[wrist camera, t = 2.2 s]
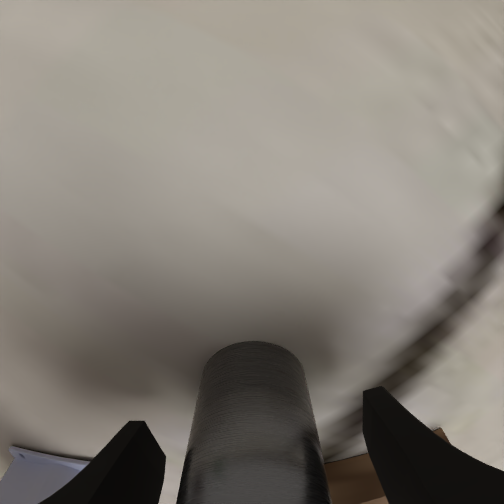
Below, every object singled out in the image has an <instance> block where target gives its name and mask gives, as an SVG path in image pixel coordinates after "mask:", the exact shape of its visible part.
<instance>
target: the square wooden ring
mask: <svg viewBox="0 0 504 504" xmlns="http://www.w3.org/2000/svg"><path fill="white" fill-rule="evenodd" d="M433 432H434V433H435V434H437V435H438V436H440V437H441V438H442V439H444V440H445V441H447V442H448V443H450V442H449V440H448V438H447V437H446V435H445V433H444V432H443V430H442V428H440V429H438V430H435V431H433ZM450 444H451V443H450ZM324 466H325V470H326V475H327V480H328V485H329V490H330V495H331V500H332V504H389V503H388V501H387V498H386V496H385V493H384V491H383V488H382V486H381V483H380V481H379V479H378V476H377V474H376V471H375V469H374V466H373V464H372V461H371V459H370V456H369V453H367V454H364V455H360V456H356V457H353V458H349V459H344V460H340V461H336V462H331V463H327V464H324Z"/></svg>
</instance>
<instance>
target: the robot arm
mask: <svg viewBox="0 0 504 504" xmlns="http://www.w3.org/2000/svg"><path fill="white" fill-rule="evenodd" d="M363 435H364V438H365V442H366V446H367V449H368V453H369V456H370V459H371V461H372V464H373V466H374V469H375V471H376V474H377V476H378V479H379V481H380V483H381V486H382V488H383V491H384V493H385V496H386V498H387V501H388V503H389V504H504V471H502V470H499V469H497V468H494V467H492V466H489V465H487V464H485V463H483V462H481V461H479V460H477V459H475V458H473V457H471V456H469V455H468V454H466V453H464V452H462V451H461V450H459V449H457V448H456V447H454V446H453V445H451V444H450V443H448V442H447V441H445V440H444V439H442V438H441V437H440V436H438V435H437V434H435V433H434V432H433V431H432V430H430V429H429V428H428V427H426V426H425V425H424V424H423V423H422V422H420V421H419V420H418V419H417V418H416V417H414V416H413V415H412V414H411V413H410V412H409V411H408V410H407V409H406V408H404V407H403V406H402V405H401V404H400V403H399V402H398V401H397V400H396V399H395V398H394V397H393V396H392V395H391V394H390V393H389V392H388V391H387V390H386V389H385V388H384V387H382V386H379V387H376V388H372V389H369V390H365V391H363ZM9 452H10V453H11V454H12V456H13V457H14V460H13V461H12V463H11V465H10V466H9V468H8V469H7V471H6V473H5V474H4V476H3V477H2V479H1V481H0V504H158V503H159V499H160V494H161V490H162V486H163V482H164V474H165V462H166V456H165V454H164V452H163V451H162V449H161V448H160V446H159V444H158V443H157V441H156V440H155V438H154V436H153V435H152V433H151V431H150V430H149V428H148V426H147V424H146V423H145V421H129V422H128V423H127V424H126V425H125V426H124V427H123V428H122V429H121V430H120V431H119V432H118V433H117V434H116V435H115V436H114V437H113V438H112V440H111V441H110V442H109V443H108V444H107V445H106V446H105V447H104V448H103V449H102V450H101V451H100V452H99V453H98V455H97V456H96V457H95V458H94V459H93V460H92V461H91V462H90V461H83V460H76V459H70V458H64V457H59V456H53V455H48V454H44V453H39V452H35V451H30V450H26V449H22V448H18V447H15V446H10V447H9Z"/></svg>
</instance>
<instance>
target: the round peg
mask: <svg viewBox="0 0 504 504" xmlns="http://www.w3.org/2000/svg"><path fill="white" fill-rule="evenodd" d="M176 504H332V500H331V495H330V490H329V485H328V480H327V475H326V470H325V466H324V461H323V456H322V451H321V447H320V442H319V437H318V432H317V428H316V423H315V419H314V414H313V409H312V405H311V400H310V396H309V391H308V387H307V383H306V378H305V374H304V370H303V368H302V365H301V364H300V362H299V361H298V359H297V358H296V357H295V356H294V355H293V354H291V353H290V352H289V351H287V350H286V349H284V348H282V347H280V346H277V345H274V344H271V343H266V342H258V341H249V342H241V343H237V344H233V345H230V346H228V347H226V348H224V349H222V350H220V351H219V352H217V353H216V354H215V355H214V356H212V358H211V359H210V360H209V361H208V362H207V364H206V366H205V368H204V370H203V375H202V379H201V384H200V388H199V393H198V398H197V403H196V407H195V412H194V417H193V422H192V427H191V431H190V436H189V441H188V446H187V451H186V456H185V461H184V466H183V471H182V476H181V481H180V487H179V492H178V497H177V502H176Z"/></svg>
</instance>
